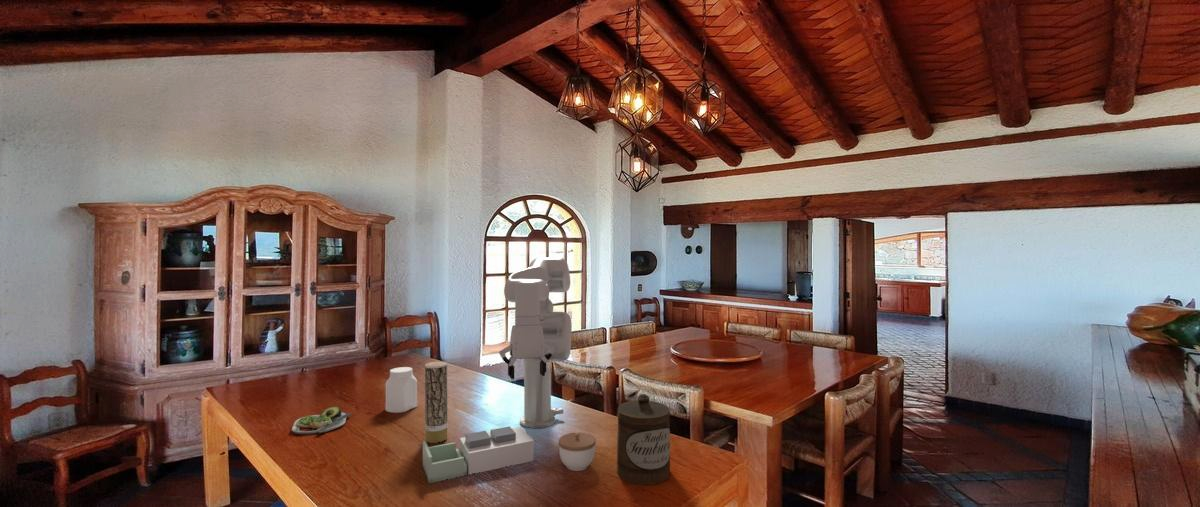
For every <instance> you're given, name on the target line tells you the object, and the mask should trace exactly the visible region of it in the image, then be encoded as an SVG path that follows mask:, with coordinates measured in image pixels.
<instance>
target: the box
mask: <svg viewBox="0 0 1200 507" xmlns="http://www.w3.org/2000/svg"><path fill="white" fill-rule="evenodd" d="M422 467H423V470H424V472H425V475H426V479H427V481H428V484H434V483H437V482H442V480H443V481H447V480H446V479H448V480H451V479H455V478H456V477H457V478H461V477H465V476H464V475H466V476H468V473H467V464H466V462H465V460H464V457H462V455H461V453H460V448H457V443H456V442H450V443H444V444H436V445H434V446H428V442H427V441H426V440H422ZM460 476H461V477H460Z"/></svg>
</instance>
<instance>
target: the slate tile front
mask: <svg viewBox="0 0 1200 507" xmlns="http://www.w3.org/2000/svg"><path fill="white" fill-rule="evenodd" d="M488 433H489V432H487V430H482V431H476V432H471V433H465V434H464V437H465V441H466V443H467V445H468V446H469V448H470V449H471V448H476V447H481V446H486V445H491V437H490V436H489V435H488Z"/></svg>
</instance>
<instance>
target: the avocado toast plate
mask: <svg viewBox="0 0 1200 507" xmlns="http://www.w3.org/2000/svg"><path fill="white" fill-rule="evenodd" d="M350 415H352V412H347V413H345V412H342V410H341V408H340V407H339V406H331V407H328V408H326V409H324V410H322V412H321V413H320V414H314V415H313V414H312V415H309V414H308V415H306V416H302V417H300V418H298V419H296V420H295V421H294V423H293V425H292V427H291V432H293V433H295V434H298V435H303V436H304V435H305V436H306V435H313V434H322V433H326V432H327V433H328V432H330V431H333V430H335V429H338V428H340V427H342V426H343V425H344V424H345V423H346V421H347V418H348V417H350ZM301 428H302V429H303V428H305V429H306V428H307V429H310V428H311V430H301Z"/></svg>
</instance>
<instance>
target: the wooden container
mask: <svg viewBox="0 0 1200 507" xmlns="http://www.w3.org/2000/svg"><path fill="white" fill-rule="evenodd" d="M670 412H671V411H670V408H669V407H668V405H666V404H664V403H661V402H658V401H653V400H650V396H649V395H647V394H646V393H640V394H639V395H638V396H637V398H636V399H635V400H630V401H629V400H628V401H626V402H622V403H621V404H620V405H619V406H618V407H617V442H616V459H617V461H616V471H617V475H618V476H619V477H620V478H621V479H622V480H625V481H626V482H629V483H631V484H636V485H642V486H644V485H654V484H660V483H662V482H664V481H666V480H667V479H668V478H669V476H670V473H671V427H670V426H671V425H670V424H671V423H670V422H671V417H670Z"/></svg>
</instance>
